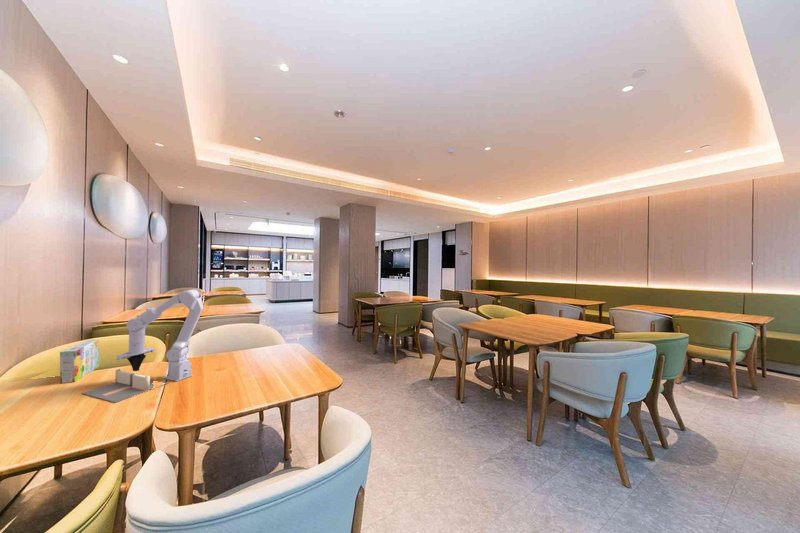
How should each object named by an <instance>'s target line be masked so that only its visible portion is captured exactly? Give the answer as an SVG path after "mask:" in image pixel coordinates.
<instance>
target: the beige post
mask: <svg viewBox="0 0 800 533" xmlns="http://www.w3.org/2000/svg"><path fill="white" fill-rule="evenodd" d="M134 374H135V372H134V373H133V372H129V371H128V372H127V371H123V370H121V369H115V381H114V383H115V382H118V383H123V384H127V385H132V382H133V375H134Z"/></svg>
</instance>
